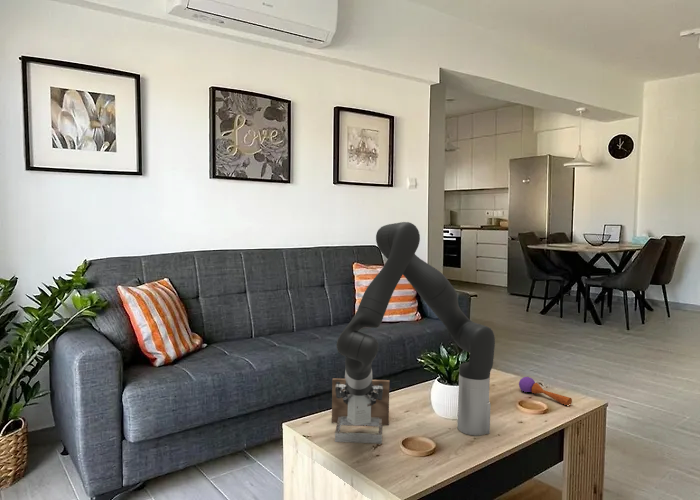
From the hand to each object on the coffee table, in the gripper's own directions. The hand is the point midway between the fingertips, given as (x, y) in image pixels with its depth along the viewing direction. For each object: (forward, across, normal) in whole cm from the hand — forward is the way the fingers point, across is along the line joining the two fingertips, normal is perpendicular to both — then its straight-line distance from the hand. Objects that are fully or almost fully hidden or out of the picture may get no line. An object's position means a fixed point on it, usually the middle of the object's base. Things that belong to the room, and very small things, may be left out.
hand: (359, 401), depth 152 cm
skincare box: (+3, 0, +5) cm, 6 cm away
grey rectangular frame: (+6, 0, +7) cm, 9 cm away
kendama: (+31, -66, -18) cm, 76 cm away
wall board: (+12, 0, +1) cm, 12 cm away
